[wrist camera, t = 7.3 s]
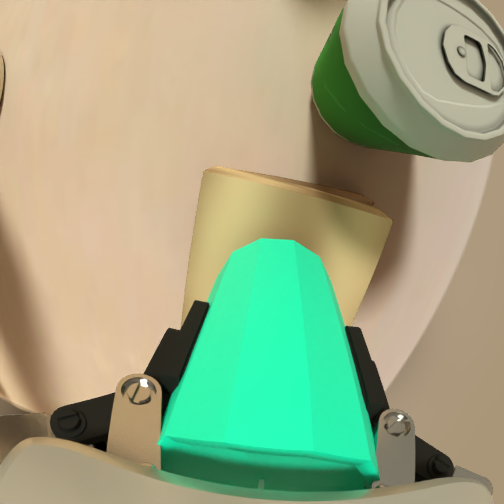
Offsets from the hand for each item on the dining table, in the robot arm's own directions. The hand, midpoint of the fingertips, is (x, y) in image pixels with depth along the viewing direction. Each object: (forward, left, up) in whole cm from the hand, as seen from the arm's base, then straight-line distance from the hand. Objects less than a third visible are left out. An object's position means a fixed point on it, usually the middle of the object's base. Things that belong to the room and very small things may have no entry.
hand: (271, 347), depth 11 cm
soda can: (+4, +12, -11) cm, 17 cm away
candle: (0, 0, -5) cm, 5 cm away
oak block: (0, 0, -8) cm, 8 cm away
